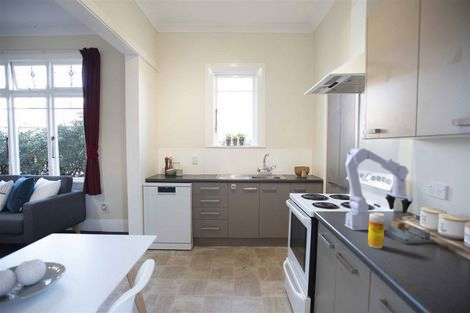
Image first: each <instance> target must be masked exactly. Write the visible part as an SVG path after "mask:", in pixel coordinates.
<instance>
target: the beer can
mask: <svg viewBox="0 0 470 313" xmlns="http://www.w3.org/2000/svg"><path fill="white" fill-rule="evenodd" d="M385 223H386V217H385V214H384V213H381V212H377V211H376V212H374V211H372V212H370V213H369V219H368V235H367V244H368V245H369V247H371V248H373V249H382V248H383V247H384V242H385V239H384V238H385Z"/></svg>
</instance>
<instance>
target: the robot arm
mask: <svg viewBox="0 0 470 313" xmlns="http://www.w3.org/2000/svg"><path fill="white" fill-rule="evenodd" d="M346 155H347V157H346V161H345V163H344V165H345V171H346V174H347V180H348V184H349V190H350V196H349V202H348V204H349V207H350V208H351V209H350V211H348V212H346V214H345V224H344V226H345V227H346V228H348V229H350V230H353V231H363V230H364V231H365V230H366V231H369V227H367V226H366V215H367V213H368V212H369V209H370V206H369V204H368V202H367V199H366V198H365V196H364V195H363V192H362V191H363V190H362V186H361V182H360V177H359V171H358V167H359V165H360V164H362V163H363V162H364V161H366V160H371V161H372V162H375V163H377V164H379V165H380V168H382V169H385V170H386V171H388V172H390V173H391V174H392V192H389V191H385V197H384V198H385V199H386V201H387V204H388V207H389V210H394V208H395V200H396V198H397V199H400V203H401V206H402V213H403V214H407V213H408V210H409V208H410V206H411V204H412V203H413V201H414V197H413V196H409V195H407V194H406V179H407V176H408V175H409V170H408V168H407V166H405V165H401V164H400V163H399V162H396V161H394V160H393V159H392V158H390V157H389V158H383V157H381V156H379V155H378V154H375V153H374V152H372V151H370V150H369V149H365V148H357V147H353V148H350V150H349V151H348V152H346Z"/></svg>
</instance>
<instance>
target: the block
mask: <svg viewBox="0 0 470 313" xmlns="http://www.w3.org/2000/svg"><path fill="white" fill-rule="evenodd" d="M390 226H393V227H396V228H398V229H400V230H403V231H406V223H405V222H404V221H400V220H391V222H390Z"/></svg>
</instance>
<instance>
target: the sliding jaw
mask: <svg viewBox="0 0 470 313" xmlns="http://www.w3.org/2000/svg"><path fill="white" fill-rule="evenodd" d="M387 228H388V229H387V232H389V233H391V234H393V235H395V236H397V237H399V238H402V239H404V240H409V239H410V233H407V232H405V231H406V230H405V231H403V230H400V229H398V228H396V227H393V226H391V225H390V226H388V227H387Z"/></svg>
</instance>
